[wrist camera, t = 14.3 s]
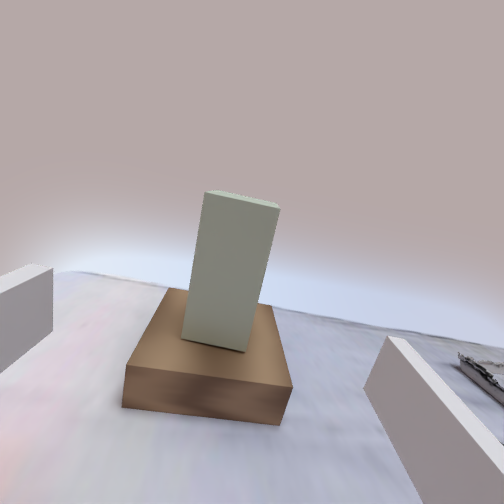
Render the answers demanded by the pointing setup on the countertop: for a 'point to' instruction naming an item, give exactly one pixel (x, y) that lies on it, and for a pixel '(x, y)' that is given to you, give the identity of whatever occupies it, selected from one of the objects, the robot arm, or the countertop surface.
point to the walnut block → (208, 370)
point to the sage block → (228, 268)
